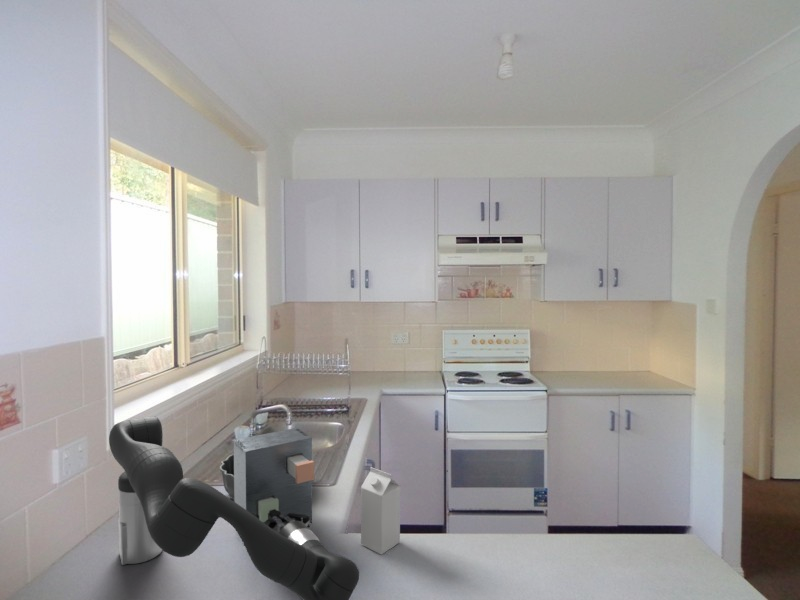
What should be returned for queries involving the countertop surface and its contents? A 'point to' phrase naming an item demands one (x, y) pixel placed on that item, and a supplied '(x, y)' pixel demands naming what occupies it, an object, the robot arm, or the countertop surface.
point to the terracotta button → (300, 468)
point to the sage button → (266, 507)
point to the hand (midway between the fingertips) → (271, 513)
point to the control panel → (272, 471)
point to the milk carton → (380, 511)
